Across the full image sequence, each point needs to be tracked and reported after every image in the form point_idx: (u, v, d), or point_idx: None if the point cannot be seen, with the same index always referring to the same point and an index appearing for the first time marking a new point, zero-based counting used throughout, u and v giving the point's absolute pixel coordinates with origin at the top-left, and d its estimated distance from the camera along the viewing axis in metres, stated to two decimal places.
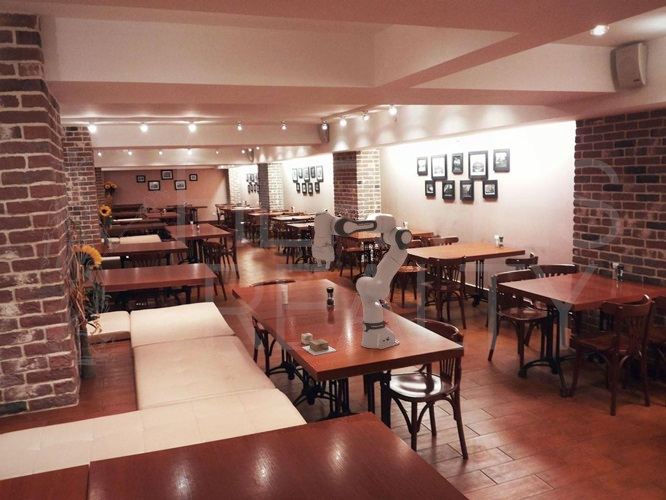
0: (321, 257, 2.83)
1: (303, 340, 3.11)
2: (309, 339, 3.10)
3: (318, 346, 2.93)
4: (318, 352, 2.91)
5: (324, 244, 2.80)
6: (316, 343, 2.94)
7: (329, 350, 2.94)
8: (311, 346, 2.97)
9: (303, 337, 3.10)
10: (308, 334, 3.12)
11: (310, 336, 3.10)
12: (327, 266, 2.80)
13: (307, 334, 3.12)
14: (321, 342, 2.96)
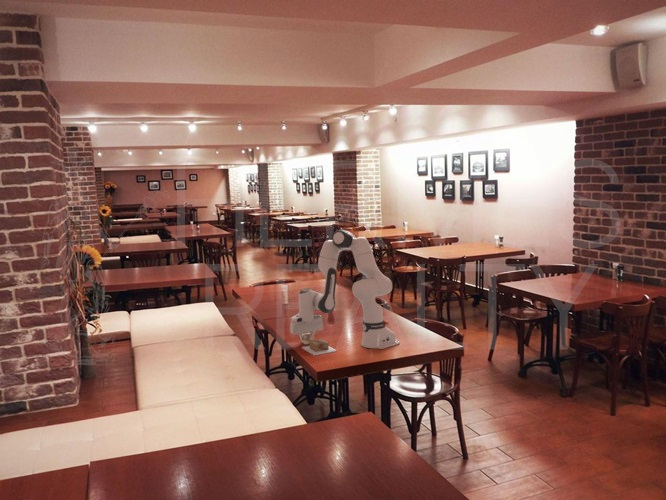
0: (310, 330, 3.10)
1: (303, 340, 3.11)
2: (309, 339, 3.10)
3: (318, 346, 2.93)
4: (318, 352, 2.91)
5: None
6: (316, 343, 2.94)
7: (329, 350, 2.94)
8: (311, 346, 2.97)
9: None
10: (308, 334, 3.12)
11: (310, 336, 3.10)
12: None
13: (307, 334, 3.12)
14: (321, 342, 2.96)
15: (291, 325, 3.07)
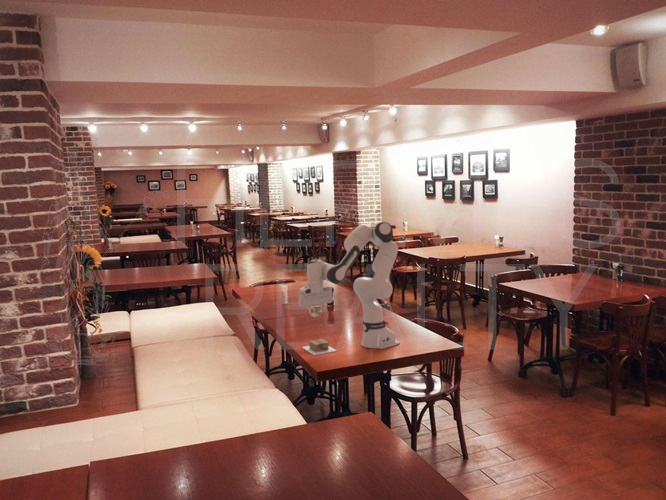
0: (319, 302, 2.96)
1: (312, 313, 2.97)
2: (318, 311, 2.96)
3: (318, 346, 2.93)
4: (318, 352, 2.91)
5: None
6: (316, 343, 2.94)
7: (329, 350, 2.94)
8: (311, 346, 2.97)
9: (312, 309, 2.96)
10: (317, 306, 2.98)
11: (319, 308, 2.96)
12: None
13: (316, 306, 2.98)
14: (321, 342, 2.96)
15: (299, 297, 2.93)
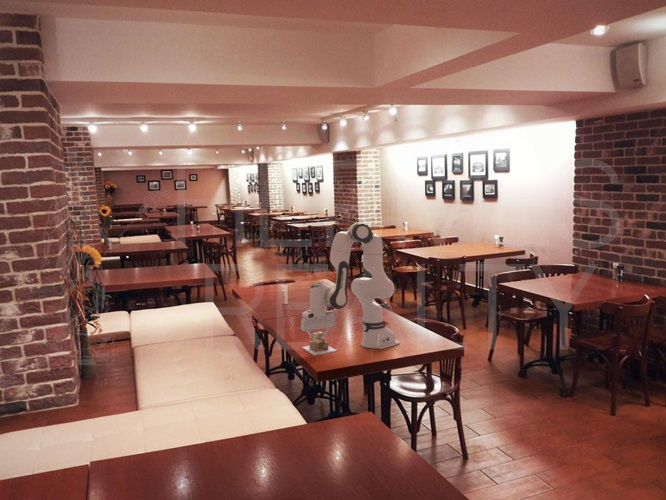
0: (322, 326, 2.96)
1: (315, 339, 2.96)
2: (321, 338, 2.95)
3: (318, 346, 2.93)
4: (318, 352, 2.91)
5: None
6: (316, 343, 2.94)
7: (329, 350, 2.94)
8: (311, 346, 2.97)
9: (315, 336, 2.95)
10: (320, 333, 2.97)
11: (322, 335, 2.95)
12: None
13: (319, 333, 2.97)
14: None
15: (302, 321, 2.92)
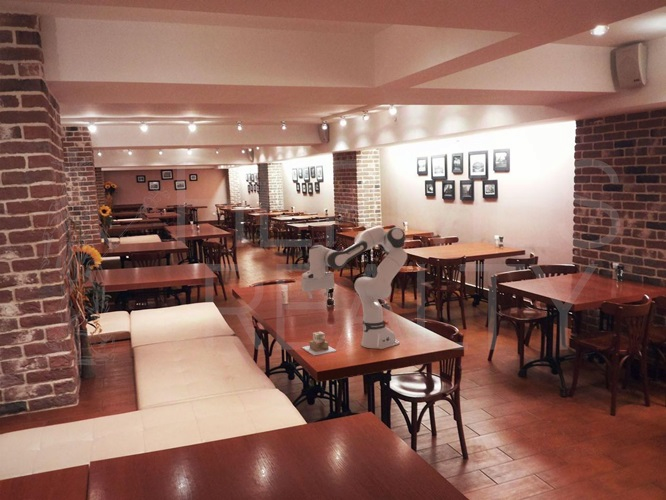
0: (321, 287, 3.03)
1: (315, 339, 2.96)
2: (321, 338, 2.95)
3: (318, 346, 2.93)
4: (318, 352, 2.91)
5: None
6: (316, 343, 2.94)
7: (329, 350, 2.94)
8: (311, 346, 2.97)
9: (315, 336, 2.95)
10: (320, 333, 2.97)
11: (322, 335, 2.95)
12: None
13: (319, 333, 2.97)
14: None
15: (302, 282, 2.99)
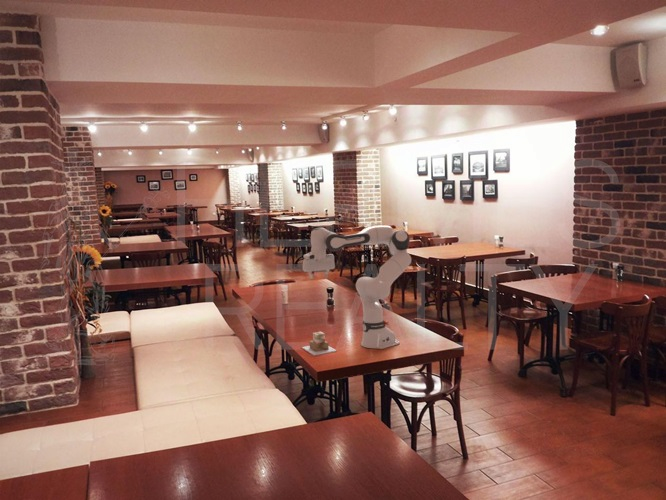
0: (322, 268, 3.15)
1: (315, 339, 2.96)
2: (321, 338, 2.95)
3: (318, 346, 2.93)
4: (318, 352, 2.91)
5: None
6: (316, 343, 2.94)
7: (329, 350, 2.94)
8: (311, 346, 2.97)
9: (315, 336, 2.95)
10: (320, 333, 2.97)
11: (322, 335, 2.95)
12: None
13: (319, 333, 2.97)
14: None
15: (303, 262, 3.11)
